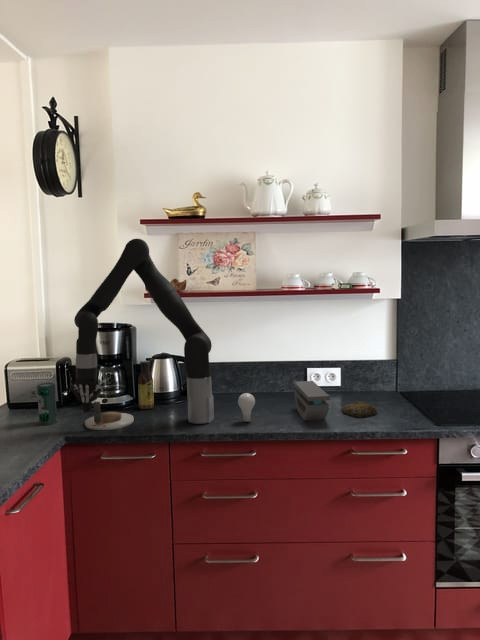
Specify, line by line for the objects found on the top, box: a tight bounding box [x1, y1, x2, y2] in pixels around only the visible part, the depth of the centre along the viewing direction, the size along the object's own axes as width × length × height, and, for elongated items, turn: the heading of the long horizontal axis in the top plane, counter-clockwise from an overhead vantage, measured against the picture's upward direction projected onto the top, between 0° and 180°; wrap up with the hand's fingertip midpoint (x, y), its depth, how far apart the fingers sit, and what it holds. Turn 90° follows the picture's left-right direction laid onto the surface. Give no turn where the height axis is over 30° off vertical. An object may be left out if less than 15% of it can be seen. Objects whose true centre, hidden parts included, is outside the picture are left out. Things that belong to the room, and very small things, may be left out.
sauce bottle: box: [137, 360, 155, 410], centre depth 210 cm, size 7×6×20 cm
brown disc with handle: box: [92, 401, 122, 425], centre depth 189 cm, size 14×9×8 cm, turn 163°
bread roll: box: [341, 400, 378, 419], centre depth 196 cm, size 13×12×5 cm
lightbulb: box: [237, 392, 256, 423], centre depth 188 cm, size 6×6×11 cm
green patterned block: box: [36, 382, 58, 426], centre depth 193 cm, size 6×6×15 cm
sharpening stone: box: [293, 380, 331, 422], centre depth 193 cm, size 25×8×11 cm, turn 6°
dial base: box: [84, 412, 135, 431], centre depth 191 cm, size 18×18×2 cm
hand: (87, 411), depth 184 cm, fingers closed
